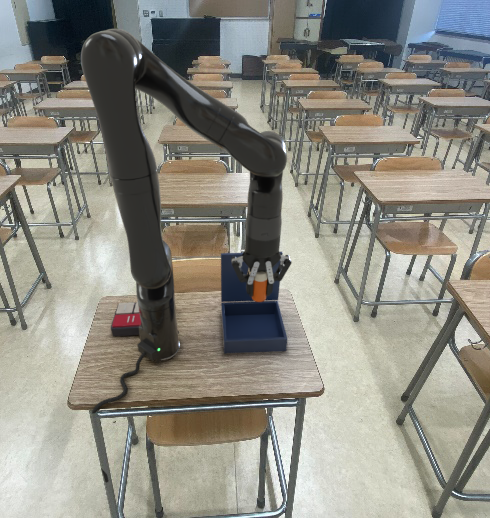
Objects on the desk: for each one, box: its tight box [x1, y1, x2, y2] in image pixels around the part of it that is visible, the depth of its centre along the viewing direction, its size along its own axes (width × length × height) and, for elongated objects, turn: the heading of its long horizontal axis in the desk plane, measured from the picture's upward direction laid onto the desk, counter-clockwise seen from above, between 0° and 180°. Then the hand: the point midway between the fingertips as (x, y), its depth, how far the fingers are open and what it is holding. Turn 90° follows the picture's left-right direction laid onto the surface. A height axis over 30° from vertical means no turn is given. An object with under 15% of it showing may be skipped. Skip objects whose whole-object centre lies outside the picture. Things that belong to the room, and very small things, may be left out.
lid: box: [220, 248, 284, 303], centre depth 113 cm, size 16×17×5 cm
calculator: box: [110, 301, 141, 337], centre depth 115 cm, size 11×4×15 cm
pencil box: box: [220, 300, 288, 354], centre depth 111 cm, size 16×17×5 cm
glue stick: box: [252, 271, 268, 302], centre depth 92 cm, size 4×4×8 cm
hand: (259, 293), depth 93 cm, fingers closed on glue stick, 3 cm apart
